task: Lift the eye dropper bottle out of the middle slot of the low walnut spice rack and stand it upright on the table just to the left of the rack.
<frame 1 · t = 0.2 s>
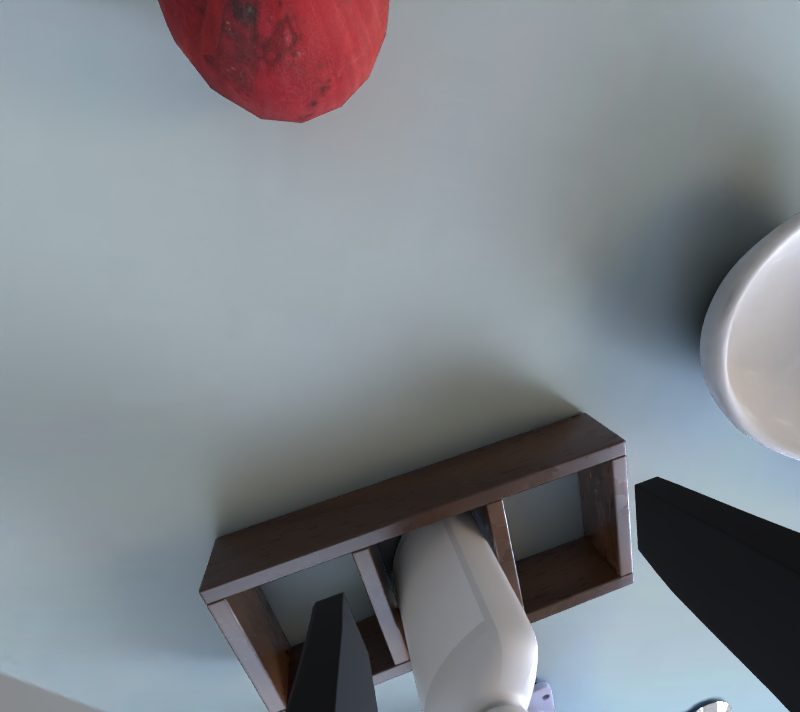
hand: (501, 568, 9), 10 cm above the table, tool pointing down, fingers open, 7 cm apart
onion: (287, 53, 14), on the table
spice rack: (429, 540, 21), on the table
eye dropper bottle: (428, 537, 22), resting in spice rack
spoon rest: (798, 373, 23), on the table
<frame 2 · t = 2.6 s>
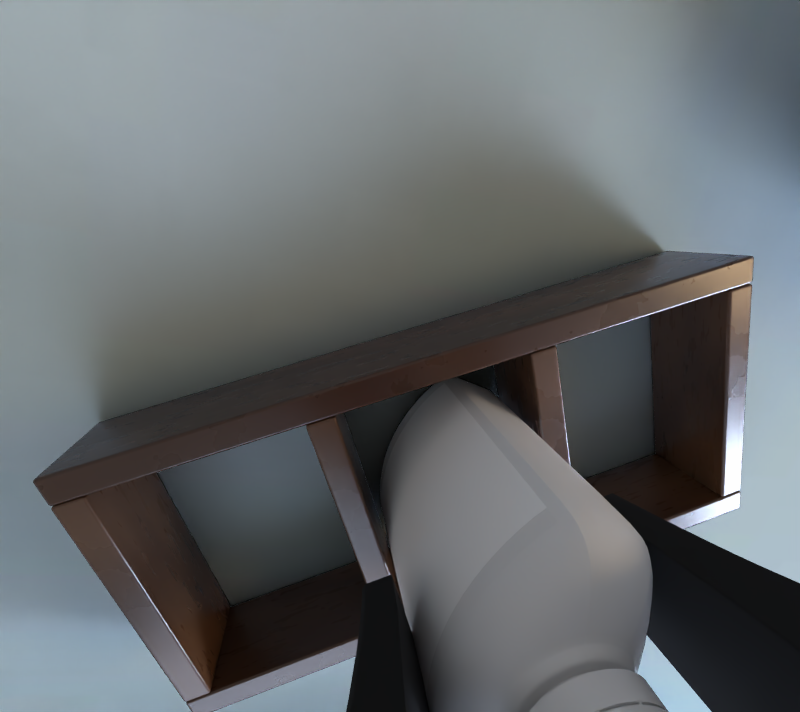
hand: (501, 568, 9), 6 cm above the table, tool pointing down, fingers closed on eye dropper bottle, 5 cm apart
spice rack: (434, 446, 14), on the table
eye dropper bottle: (432, 443, 15), resting in spice rack, touching gripper
when the fingers open (6 cm above the table, at t = 6.9 s): eye dropper bottle stays where it is, on the table.
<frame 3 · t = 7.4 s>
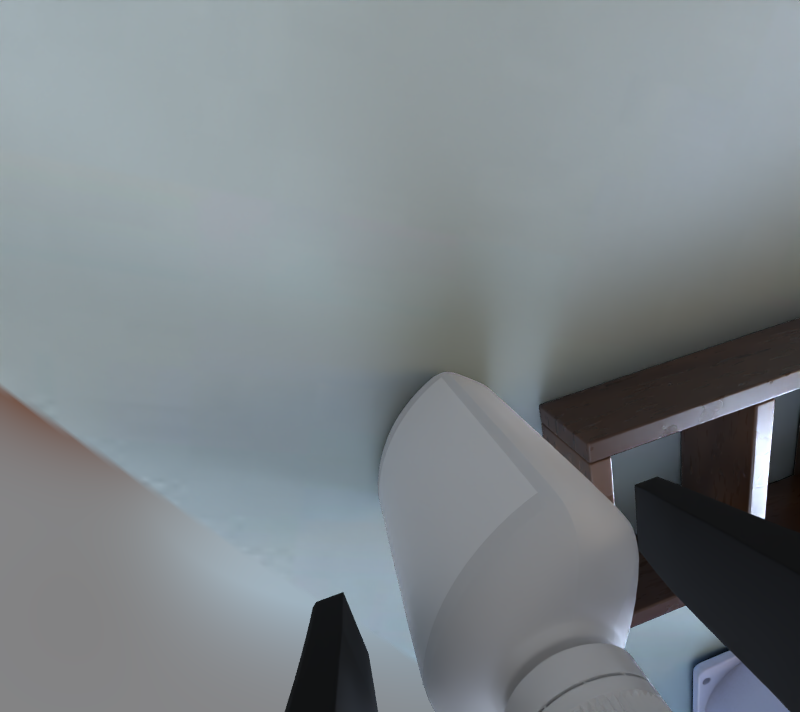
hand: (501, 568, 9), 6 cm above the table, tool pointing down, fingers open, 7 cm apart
spice rack: (749, 426, 18), on the table
eye dropper bottle: (430, 437, 15), on the table
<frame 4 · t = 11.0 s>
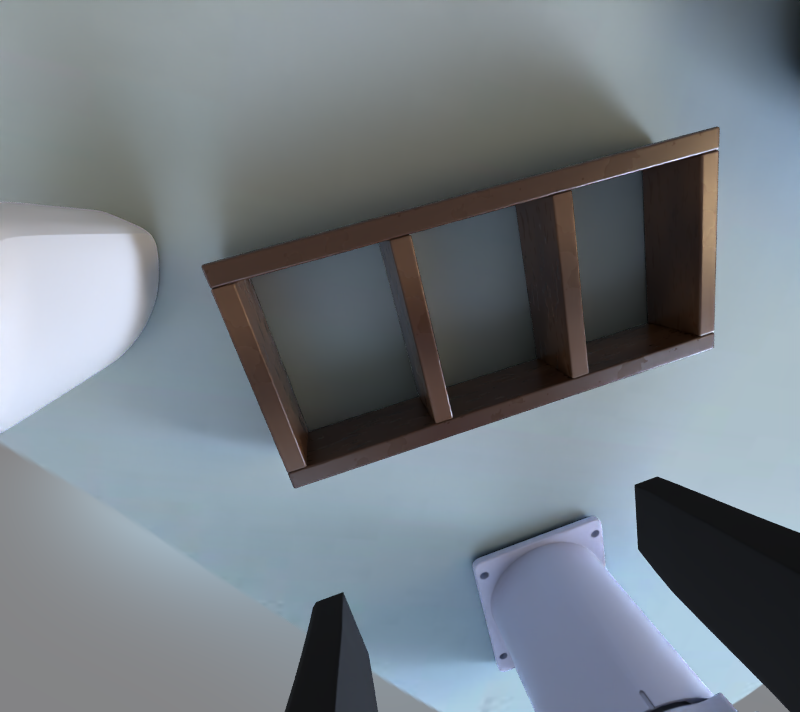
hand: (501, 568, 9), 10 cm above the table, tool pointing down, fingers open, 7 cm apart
spice rack: (471, 301, 18), on the table
eye dropper bottle: (110, 288, 15), on the table
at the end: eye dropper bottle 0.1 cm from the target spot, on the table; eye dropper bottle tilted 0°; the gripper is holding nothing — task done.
